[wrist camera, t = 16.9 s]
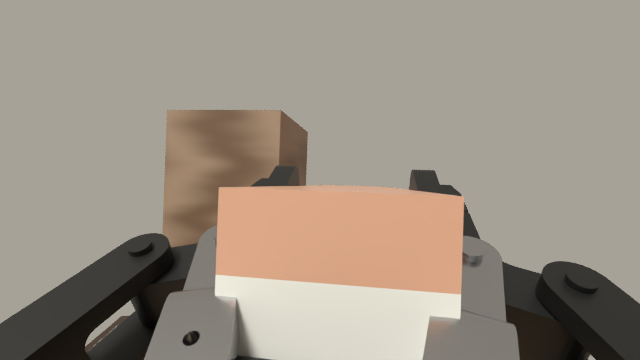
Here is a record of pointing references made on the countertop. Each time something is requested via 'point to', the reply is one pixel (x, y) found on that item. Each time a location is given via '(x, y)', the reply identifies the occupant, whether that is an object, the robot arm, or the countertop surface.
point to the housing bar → (338, 269)
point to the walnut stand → (221, 162)
